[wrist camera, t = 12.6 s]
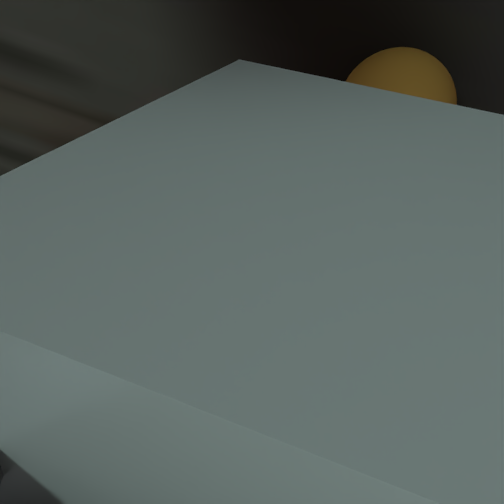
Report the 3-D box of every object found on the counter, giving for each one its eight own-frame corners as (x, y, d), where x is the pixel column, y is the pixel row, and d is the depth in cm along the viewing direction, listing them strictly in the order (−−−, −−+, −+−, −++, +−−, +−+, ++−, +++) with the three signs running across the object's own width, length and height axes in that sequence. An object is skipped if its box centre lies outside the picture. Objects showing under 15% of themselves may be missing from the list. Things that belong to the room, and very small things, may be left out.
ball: (342, 42, 17) (315, 166, 20) (480, 69, 16) (431, 196, 19) (362, 32, 22) (337, 135, 24) (473, 52, 20) (434, 159, 23)
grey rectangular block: (239, 59, 10) (-176, 262, 3) (561, 127, 9) (956, 705, 2) (217, 288, 14) (-1, 602, 7) (439, 362, 13) (431, 840, 6)
